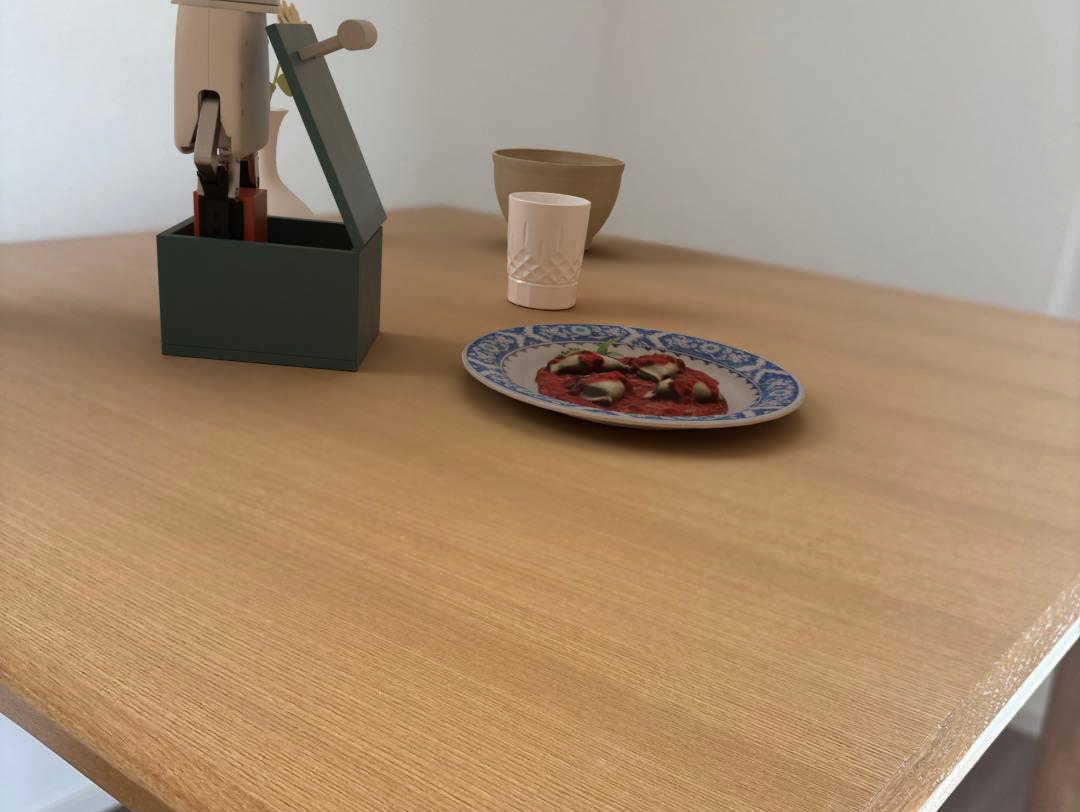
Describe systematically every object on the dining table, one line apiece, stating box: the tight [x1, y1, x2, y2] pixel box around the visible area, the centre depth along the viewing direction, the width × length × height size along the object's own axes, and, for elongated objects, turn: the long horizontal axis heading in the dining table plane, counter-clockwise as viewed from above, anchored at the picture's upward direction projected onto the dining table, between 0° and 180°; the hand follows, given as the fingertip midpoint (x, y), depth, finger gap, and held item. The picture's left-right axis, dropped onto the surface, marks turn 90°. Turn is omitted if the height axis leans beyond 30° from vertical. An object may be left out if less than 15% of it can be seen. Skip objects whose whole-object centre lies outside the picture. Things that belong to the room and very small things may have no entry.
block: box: [192, 187, 268, 243], centre depth 87 cm, size 4×4×4 cm
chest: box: [155, 215, 384, 372], centre depth 89 cm, size 15×13×9 cm
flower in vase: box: [258, 0, 317, 220], centre depth 128 cm, size 13×11×25 cm
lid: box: [265, 18, 388, 248], centre depth 84 cm, size 15×13×6 cm
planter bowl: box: [491, 147, 626, 251], centre depth 139 cm, size 16×16×11 cm
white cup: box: [506, 192, 591, 311], centre depth 110 cm, size 8×8×10 cm
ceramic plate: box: [461, 323, 807, 431], centre depth 85 cm, size 26×26×3 cm
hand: (231, 245), depth 87 cm, fingers closed on block, 4 cm apart
